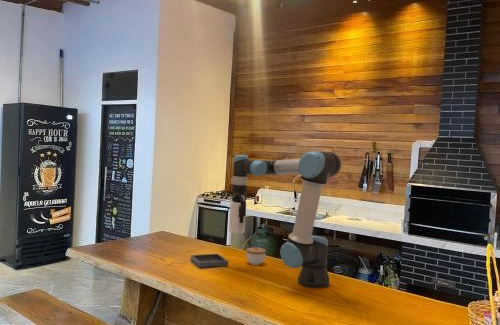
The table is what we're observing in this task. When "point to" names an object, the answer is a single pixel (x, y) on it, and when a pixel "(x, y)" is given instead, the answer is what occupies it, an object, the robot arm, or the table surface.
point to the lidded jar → (255, 255)
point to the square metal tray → (209, 261)
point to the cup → (235, 218)
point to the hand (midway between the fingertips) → (237, 227)
